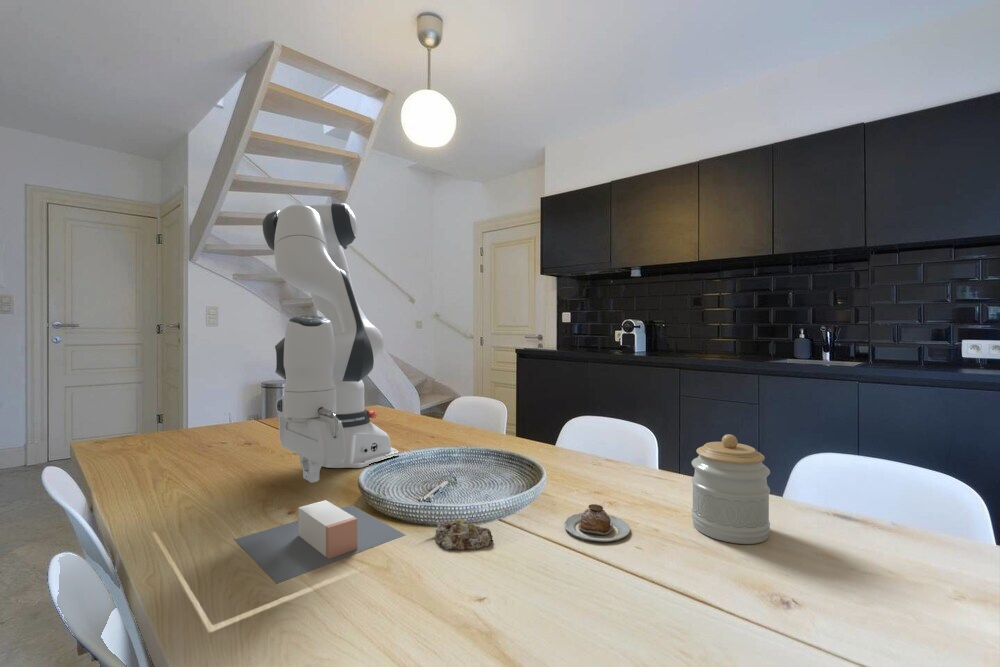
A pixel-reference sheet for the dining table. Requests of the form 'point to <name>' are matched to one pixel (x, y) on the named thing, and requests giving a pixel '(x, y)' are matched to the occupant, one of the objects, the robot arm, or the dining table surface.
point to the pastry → (596, 524)
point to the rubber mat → (308, 546)
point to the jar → (731, 492)
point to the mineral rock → (462, 535)
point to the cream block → (328, 528)
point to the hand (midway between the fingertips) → (311, 480)
